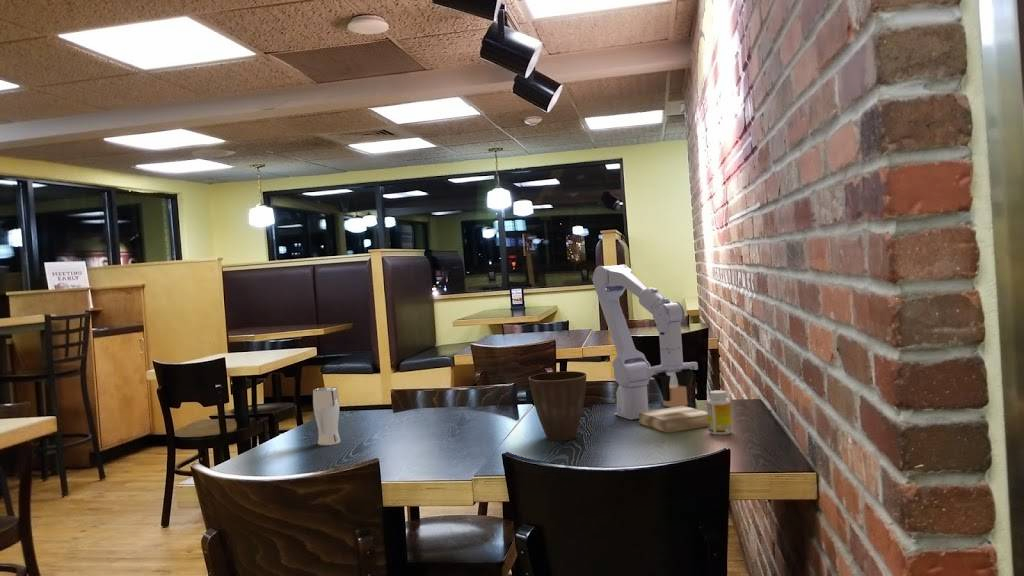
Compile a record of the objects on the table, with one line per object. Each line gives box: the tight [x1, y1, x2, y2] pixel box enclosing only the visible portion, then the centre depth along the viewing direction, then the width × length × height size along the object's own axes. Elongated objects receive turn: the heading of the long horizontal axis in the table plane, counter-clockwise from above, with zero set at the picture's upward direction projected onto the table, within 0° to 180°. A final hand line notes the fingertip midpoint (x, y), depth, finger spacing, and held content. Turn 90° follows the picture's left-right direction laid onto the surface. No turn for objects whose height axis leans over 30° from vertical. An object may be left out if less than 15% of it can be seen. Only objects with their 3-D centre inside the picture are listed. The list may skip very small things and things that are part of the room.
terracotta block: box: [662, 384, 688, 408], centre depth 188 cm, size 4×4×5 cm
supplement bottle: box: [706, 389, 733, 436], centre depth 175 cm, size 6×6×10 cm
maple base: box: [638, 405, 709, 434], centre depth 188 cm, size 14×14×3 cm
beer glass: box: [312, 386, 341, 447], centre depth 196 cm, size 7×7×15 cm
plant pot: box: [527, 370, 587, 442], centre depth 183 cm, size 15×15×16 cm
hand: (674, 399), depth 188 cm, fingers closed on terracotta block, 4 cm apart
